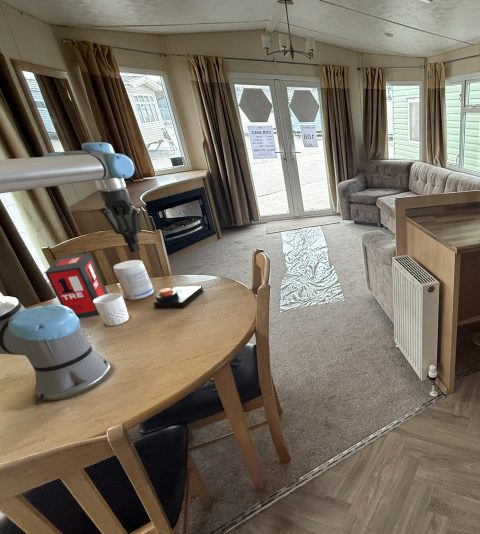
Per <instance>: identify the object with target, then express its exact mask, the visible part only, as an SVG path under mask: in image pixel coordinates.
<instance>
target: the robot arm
mask: <svg viewBox="0 0 480 534" xmlns="http://www.w3.org/2000/svg"><path fill="white" fill-rule="evenodd" d="M81 148H82V149H81V150H72V151H70V150H69V151H55V152H49V153H46V154H44V155H43V156H39V157H38V156H37V157H21V158H7V159H6V158H5V159H4V158H3V159H0V195H1V194H6V193H15V192H20V191H21V192H22V191H28V190H29V191H30V190H34V189H35V190H36V189H43V188H49V187H56V186H58V187H59V186H64V185H71V184H79V183H85V182H86V183H87V182H92V181H94V182H95V186H96V188H97V189H98V190H99V191H98V193H99V196H100V198H101V200H102V202H104V207H102V208H99V209H98V211H99V212H100V213H101V215H103V216H104V218H105V219H106V221H107V222H108V224H109V225H110V227H111V229H112V230H113V232H114V233H115V234H116V235H121V236H122V237H123V240H124V243H126V244H127V247H128V248H129V249H128V250H129V252H130V253H138V252H139V251H141V248H140V246H139V241H140V240H139V238H138V234H140V233H142V225H141V223H142V222H141V212H142V208H141V207H136V206H134V204H133V203H132V202H131V196H130V194H129V193H130V192H129V191H128V188H126V187H127V185H126V182H125V179H129V178H131V177H132V176H133V175H134V174H135V165H134V161H132V159H131V158H130V157H129V156H127V155H125V154H123V153H115V150H114V148H113V146H112V144H110V143H108V142H96V141H95V142H83V143H81ZM0 355H15V356H25V357H26V358H27V360H28V362H29V363H30V365H31V367H32V368H33V370H34V373H35V374H34V375H35V387H34V391H35V393H36V395H37V396H38V398H37V399H36V400H35V402H34V403H33V405H35V406H38V405H39V404H40V403H41V401H42V400H43V401H49V402H50V401H51V402H52V401H59V400H65V399H67V398H68V399H69V398H72V397H75V396H77V395H80V394H82V393H86V392H87V391H89V390H91V389H93V388H95V387H96V386H98V385H100V384H101V383H102V382H103V381H105V380H106V379H107V378H108V377H109V376H110V374H111V372H112V366H111V364H110V362H109V361H108V360H106V359H105V358H104V357H103V356H101V355H100V354H99V353H98V352H97V351H95V350H94V349H93V347H92V345H91V343H90V341H89V338H88V336H87V334H86V333H85V331H84V329H83V326H82V324H81V322H80V318H78V317H77V316H76V314H75V313H74V312H73V310H72V309H70V308H68V307H66V306H62V305H61V304H46V305H44V306H41V305H39V306H34V307H30V308H25V306H24V305H23V304H22V303H21V301H20V300H19V299H17V298H16V297H13V296H6V295H4V294H3V293H2V292H1V291H0Z"/></svg>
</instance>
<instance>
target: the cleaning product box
mask: <svg viewBox="0 0 480 534" xmlns="http://www.w3.org/2000/svg"><path fill="white" fill-rule="evenodd" d="M44 274H45V275H46V277H47V279H48V281H49V284H50V285H51V287H52V289H53V291H54V293H55V295H56V298H57V299H58V301H59V303H60V305H62V306H66V307H68V308H70V309H72V310H73V312H74V313H75V314H76V316H77V317H78V318H79V319H83V318H88V317H93V316H94V317H95V316H98V315H99V316H100V314H99V312H98V311H97V309H96V307H95V305H94V303H93V300H94V299H96V298H97V297H99V296H102V295H105V294H109V293H108V290H107V288H106V286H105V283H104V282H103V279H102V276H101V274H100V272H99V270H98V267H97V265H96V263H95V260H94V258H93V256H92V253H91V252H86V253H85V252H84V253H78V254H69V255H62V256H58V257H57V259H55V261H54V262H53V263H52V264H51V265H50V266H49V267H48V269H47V270H46V271H45V272H44Z"/></svg>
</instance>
